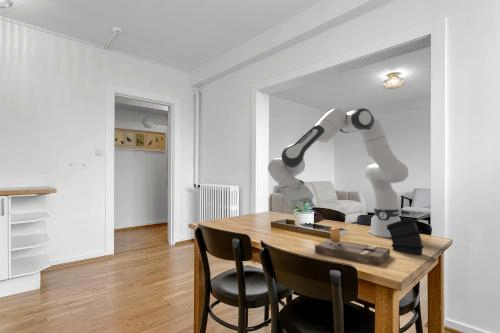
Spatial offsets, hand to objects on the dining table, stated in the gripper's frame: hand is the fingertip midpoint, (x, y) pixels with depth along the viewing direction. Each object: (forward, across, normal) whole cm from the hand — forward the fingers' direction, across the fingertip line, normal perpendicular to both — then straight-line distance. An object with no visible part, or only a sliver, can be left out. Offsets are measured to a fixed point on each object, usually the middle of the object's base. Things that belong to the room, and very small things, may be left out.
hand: (308, 208), depth 129 cm
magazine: (+38, +18, -13) cm, 44 cm away
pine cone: (-4, +45, +29) cm, 54 cm away
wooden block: (+21, 0, +4) cm, 22 cm away
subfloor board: (+26, 0, -2) cm, 26 cm away
